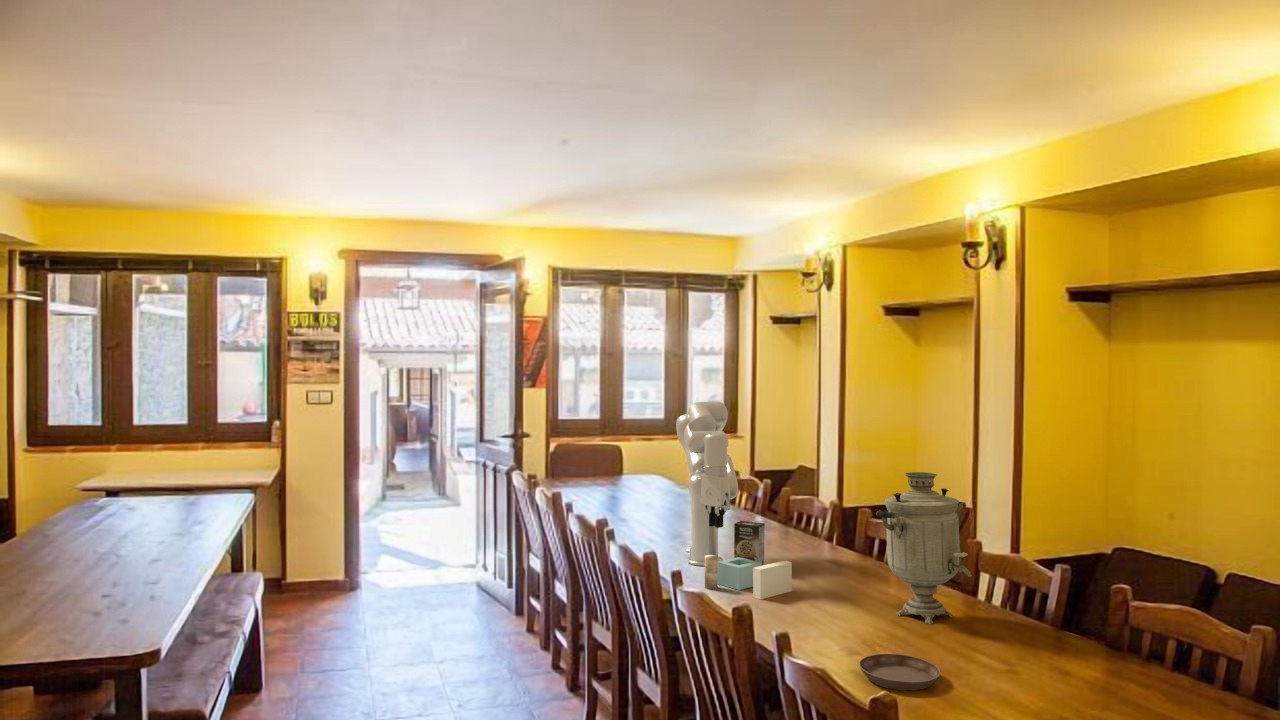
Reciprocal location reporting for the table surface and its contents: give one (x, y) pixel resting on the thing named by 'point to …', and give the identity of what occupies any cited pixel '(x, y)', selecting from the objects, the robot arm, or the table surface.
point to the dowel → (710, 572)
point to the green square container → (736, 573)
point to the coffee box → (749, 541)
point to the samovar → (923, 542)
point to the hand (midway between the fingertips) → (716, 526)
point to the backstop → (772, 579)
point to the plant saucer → (899, 671)
